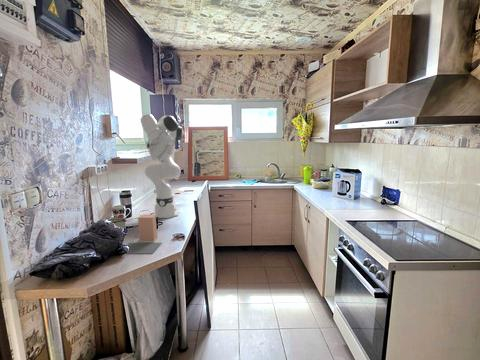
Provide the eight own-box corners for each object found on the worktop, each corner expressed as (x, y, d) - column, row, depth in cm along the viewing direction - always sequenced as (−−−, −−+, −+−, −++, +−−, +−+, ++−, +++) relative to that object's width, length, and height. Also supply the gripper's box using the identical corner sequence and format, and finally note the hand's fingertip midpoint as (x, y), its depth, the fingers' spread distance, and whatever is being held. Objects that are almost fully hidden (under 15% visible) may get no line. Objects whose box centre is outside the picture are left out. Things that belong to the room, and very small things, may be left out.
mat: (129, 243, 143) (129, 242, 143) (162, 243, 142) (162, 242, 142) (116, 253, 129) (116, 253, 129) (152, 253, 128) (152, 253, 128)
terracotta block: (143, 238, 149) (141, 215, 147) (157, 238, 149) (155, 215, 147) (139, 242, 144) (138, 217, 142) (154, 242, 144) (152, 217, 142)
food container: (122, 232, 161) (121, 216, 159) (127, 234, 157) (126, 218, 155) (101, 237, 151) (100, 221, 150) (106, 240, 148) (104, 223, 146)
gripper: (169, 127, 148) (179, 148, 145) (154, 147, 161) (163, 166, 158) (159, 128, 143) (170, 149, 140) (145, 148, 156) (154, 168, 153)
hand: (166, 158), depth 149 cm, fingers open, 8 cm apart
